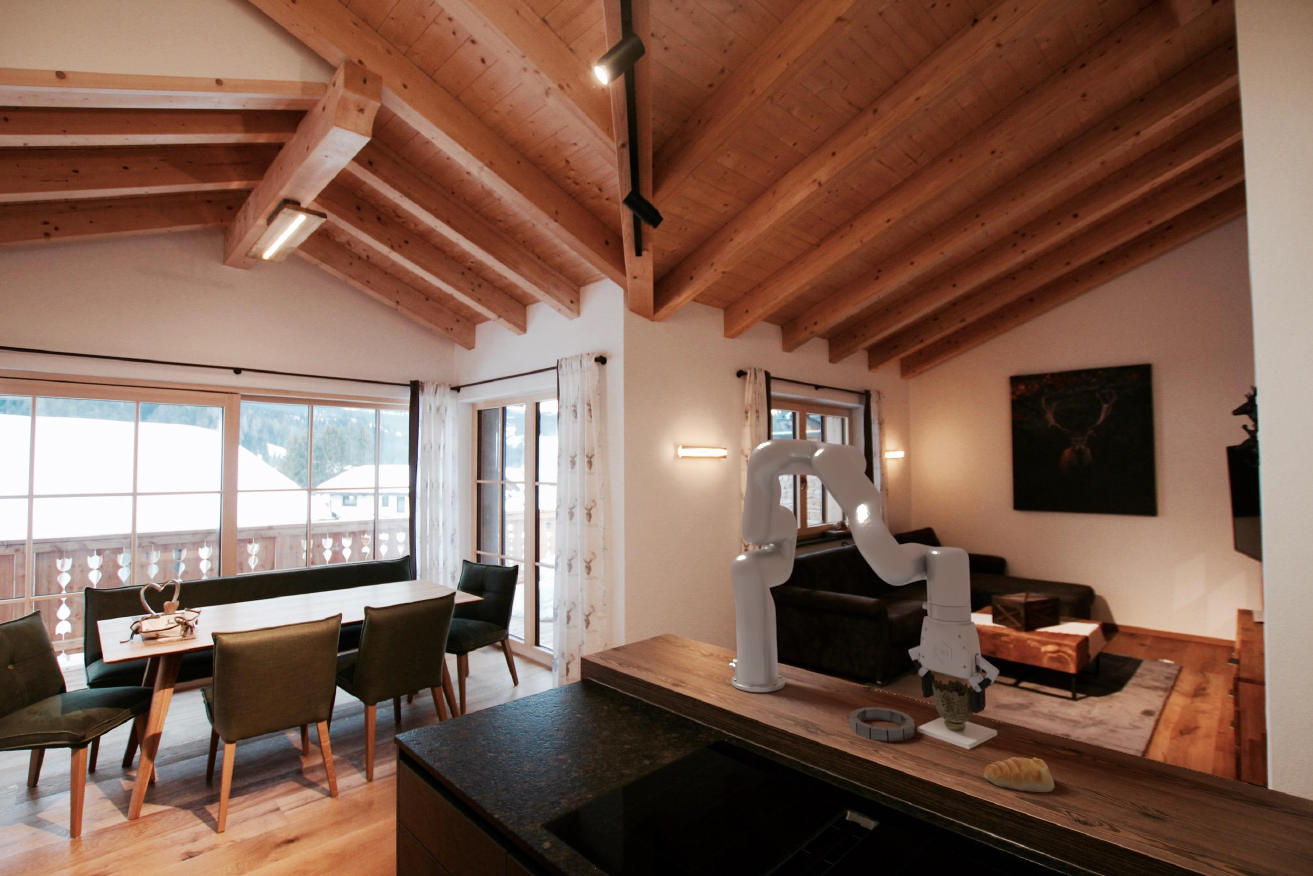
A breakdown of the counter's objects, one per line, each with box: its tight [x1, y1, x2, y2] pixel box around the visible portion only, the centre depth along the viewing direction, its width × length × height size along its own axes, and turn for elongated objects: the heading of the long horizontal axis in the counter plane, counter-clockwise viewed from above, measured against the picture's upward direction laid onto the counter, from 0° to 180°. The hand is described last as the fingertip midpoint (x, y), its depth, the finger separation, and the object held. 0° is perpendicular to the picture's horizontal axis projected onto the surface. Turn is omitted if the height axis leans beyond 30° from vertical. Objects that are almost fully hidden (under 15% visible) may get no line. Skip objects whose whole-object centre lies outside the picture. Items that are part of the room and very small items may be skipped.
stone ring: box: [849, 706, 915, 743], centre depth 121 cm, size 12×12×2 cm
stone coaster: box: [916, 716, 998, 750], centre depth 118 cm, size 10×10×1 cm
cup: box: [932, 679, 974, 731], centre depth 118 cm, size 8×7×8 cm
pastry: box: [983, 756, 1055, 793], centre depth 99 cm, size 9×7×4 cm
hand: (952, 703), depth 118 cm, fingers open, 9 cm apart
